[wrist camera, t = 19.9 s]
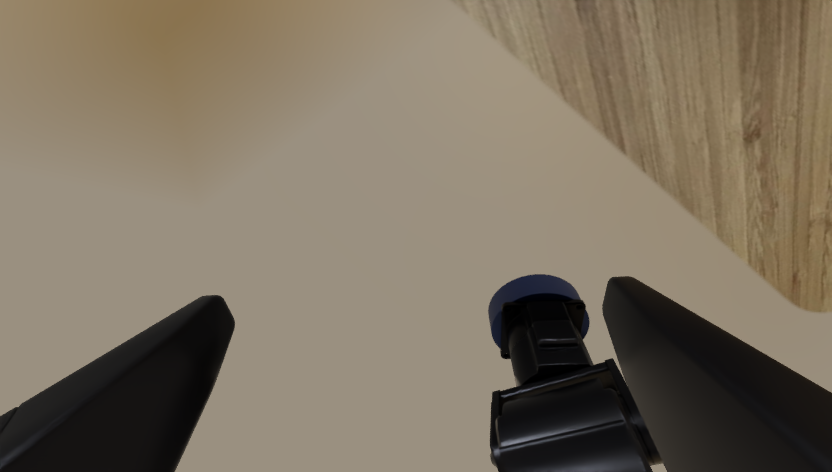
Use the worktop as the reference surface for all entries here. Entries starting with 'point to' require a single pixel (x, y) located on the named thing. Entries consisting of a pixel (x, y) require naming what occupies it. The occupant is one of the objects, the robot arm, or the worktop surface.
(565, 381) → the robot arm
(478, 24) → the worktop surface
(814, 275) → the worktop surface
